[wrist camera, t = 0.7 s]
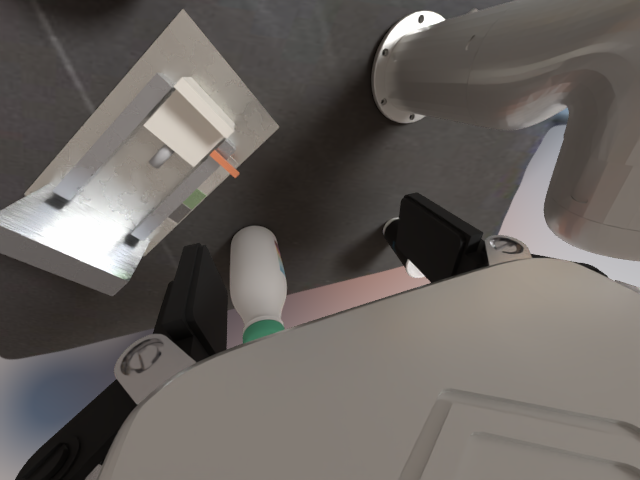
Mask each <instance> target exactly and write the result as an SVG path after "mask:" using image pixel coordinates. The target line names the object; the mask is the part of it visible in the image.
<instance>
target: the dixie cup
mask: <svg viewBox="0 0 640 480" xmlns="http://www.w3.org/2000/svg"><path fill="white" fill-rule="evenodd" d="M398 223H399V218H393V219H391V220H389V221H388V222H387V223H386V224H385V226H384V228H383V234H384V237H385V239H386V240H387V242H388V243H389V245H390V246H391V248H392V249H393V251H394V252H395V254H396V255H397V256H398V258H399V259H400V261H401V262H402V264H403V265H404V267H405V268H406V272H407V274H408V275H409V276H411V277H414V278H421V277H425V276H424V275H423V274H422V273H421V272H420V271H419V270H418V269H417V268H416V267H415V265H414V264H413V263H412V262H411V261H410V260H409V259H408V258H407V257H406V256H405V255H404V254H403V253H402V252H401V251H400V250H399V249H398V248H397V245H396V240H397V231H398Z"/></svg>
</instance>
